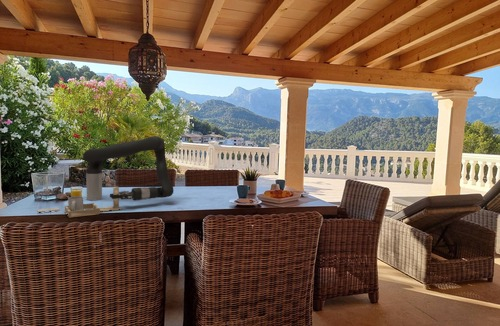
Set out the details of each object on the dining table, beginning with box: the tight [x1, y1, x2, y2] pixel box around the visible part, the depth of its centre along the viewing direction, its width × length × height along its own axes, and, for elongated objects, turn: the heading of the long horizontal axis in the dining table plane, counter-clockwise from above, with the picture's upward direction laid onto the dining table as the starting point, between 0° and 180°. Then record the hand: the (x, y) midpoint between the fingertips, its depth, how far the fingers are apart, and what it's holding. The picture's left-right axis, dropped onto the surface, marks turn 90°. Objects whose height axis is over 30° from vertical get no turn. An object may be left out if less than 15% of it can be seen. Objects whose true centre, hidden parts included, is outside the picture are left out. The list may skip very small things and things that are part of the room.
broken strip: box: [37, 207, 60, 213], centre depth 189 cm, size 5×26×1 cm, turn 127°
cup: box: [67, 195, 84, 211], centre depth 180 cm, size 7×10×9 cm
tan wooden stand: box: [64, 186, 122, 218], centre depth 186 cm, size 15×28×13 cm, turn 127°
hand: (110, 196), depth 191 cm, fingers closed on tan wooden stand, 3 cm apart
